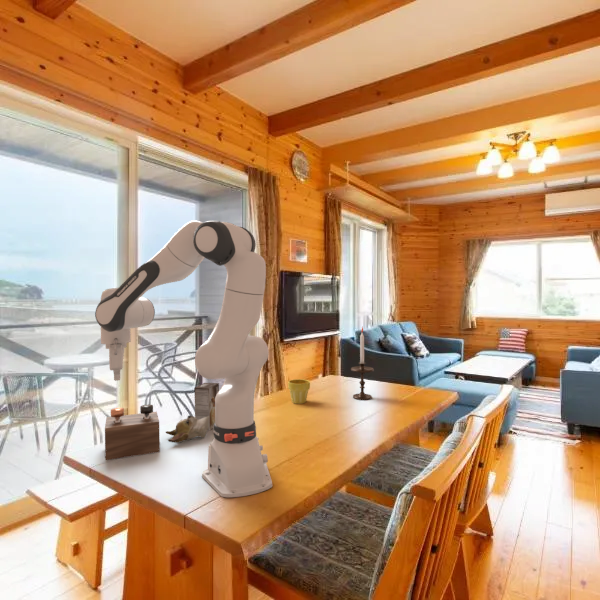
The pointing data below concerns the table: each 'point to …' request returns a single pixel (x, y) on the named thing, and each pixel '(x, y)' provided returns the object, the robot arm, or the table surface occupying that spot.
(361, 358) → the candlestick
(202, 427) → the ceramic sculpture
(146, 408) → the black knob plunger
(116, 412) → the terracotta knob plunger
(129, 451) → the block
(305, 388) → the plant pot
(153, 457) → the table surface
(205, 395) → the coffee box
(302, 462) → the table surface
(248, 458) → the robot arm
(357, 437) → the table surface
